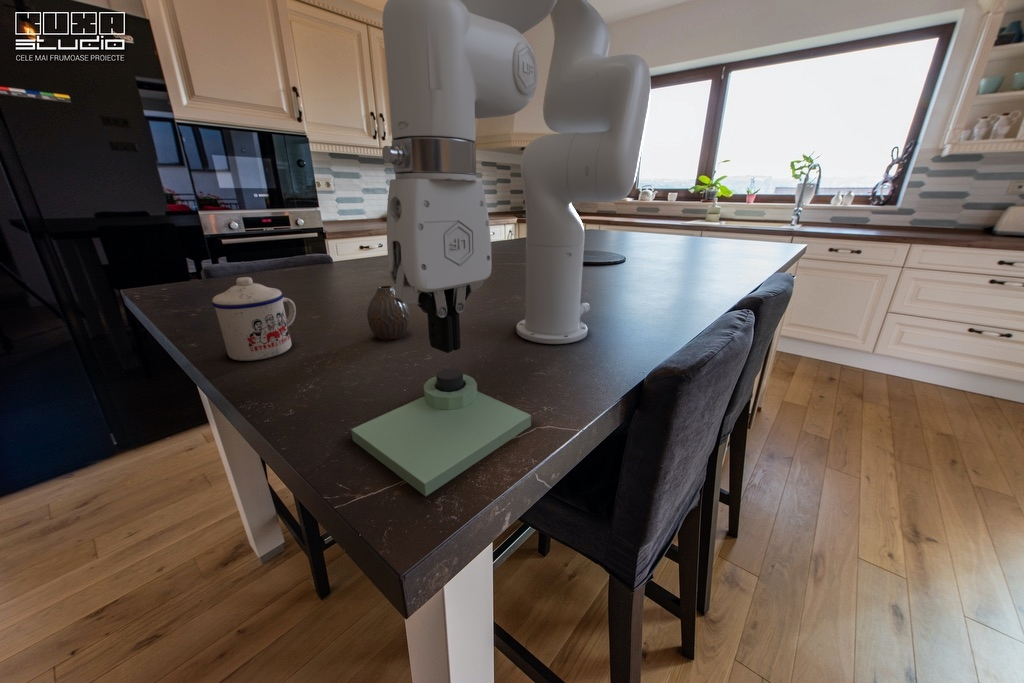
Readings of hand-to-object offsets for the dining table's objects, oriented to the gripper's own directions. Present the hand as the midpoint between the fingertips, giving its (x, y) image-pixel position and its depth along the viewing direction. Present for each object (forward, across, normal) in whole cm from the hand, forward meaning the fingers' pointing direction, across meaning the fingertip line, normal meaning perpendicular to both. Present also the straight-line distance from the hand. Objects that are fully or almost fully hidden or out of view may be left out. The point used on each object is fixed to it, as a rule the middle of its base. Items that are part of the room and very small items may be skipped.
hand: (445, 347), depth 43 cm
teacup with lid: (+8, -6, +37) cm, 38 cm away
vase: (+8, +10, +27) cm, 29 cm away
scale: (+8, -3, -3) cm, 9 cm away
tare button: (+5, +1, 0) cm, 5 cm away
